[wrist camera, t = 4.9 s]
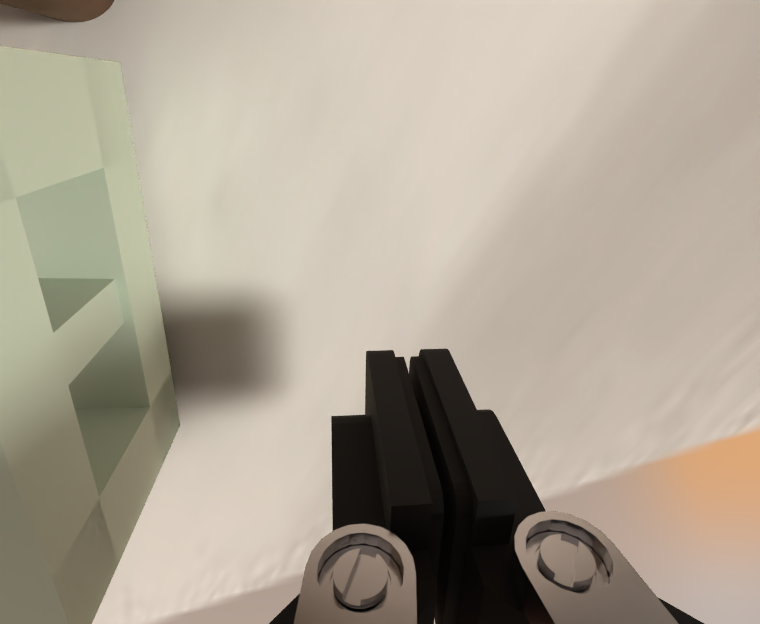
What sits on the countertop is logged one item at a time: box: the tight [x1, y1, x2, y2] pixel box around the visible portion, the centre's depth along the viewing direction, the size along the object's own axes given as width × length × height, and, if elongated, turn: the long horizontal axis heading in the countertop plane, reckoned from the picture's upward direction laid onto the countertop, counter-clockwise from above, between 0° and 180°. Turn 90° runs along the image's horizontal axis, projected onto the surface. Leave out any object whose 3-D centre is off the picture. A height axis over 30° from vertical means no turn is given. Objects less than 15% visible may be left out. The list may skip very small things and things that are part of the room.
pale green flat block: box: [0, 46, 180, 624], centre depth 8 cm, size 9×2×6 cm, turn 177°
